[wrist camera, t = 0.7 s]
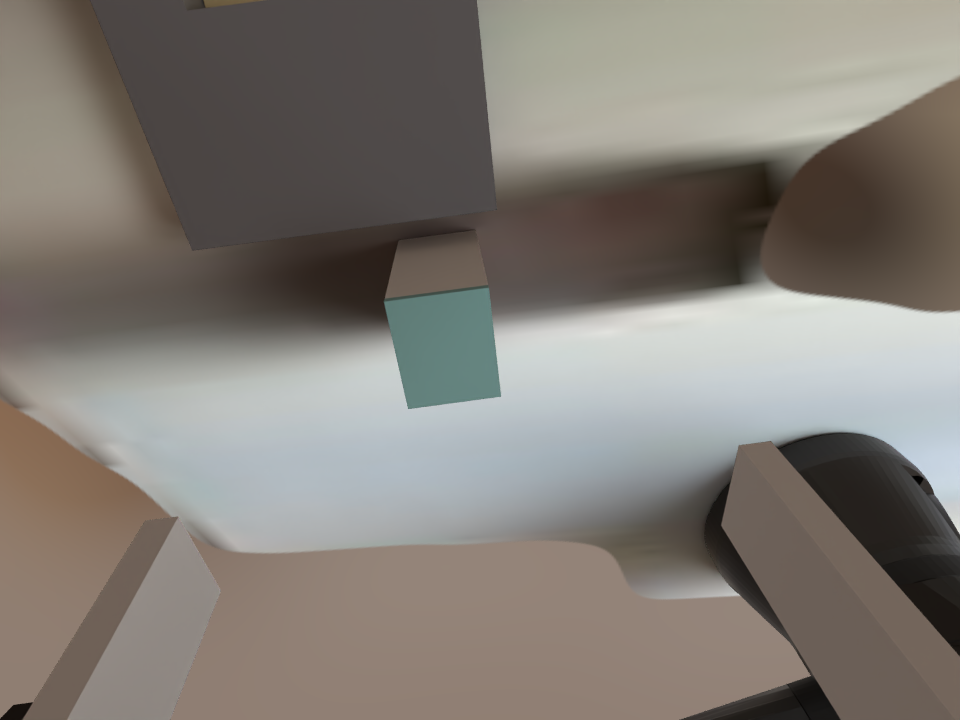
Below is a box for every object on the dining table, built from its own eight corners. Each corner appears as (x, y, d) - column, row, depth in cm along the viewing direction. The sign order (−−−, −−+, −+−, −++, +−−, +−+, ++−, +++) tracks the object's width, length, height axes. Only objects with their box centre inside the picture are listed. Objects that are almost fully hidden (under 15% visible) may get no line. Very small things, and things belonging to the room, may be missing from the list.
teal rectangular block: (486, 317, 29) (501, 396, 22) (415, 326, 29) (408, 408, 22) (475, 230, 26) (488, 287, 19) (398, 240, 26) (384, 301, 19)
